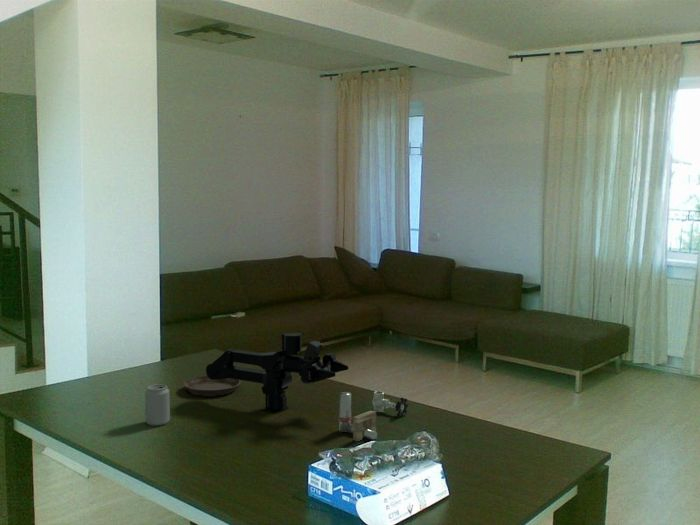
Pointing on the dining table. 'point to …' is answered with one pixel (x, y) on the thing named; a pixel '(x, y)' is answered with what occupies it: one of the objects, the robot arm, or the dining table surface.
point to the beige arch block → (358, 424)
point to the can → (157, 405)
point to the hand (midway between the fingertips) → (341, 371)
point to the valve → (388, 404)
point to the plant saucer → (211, 386)
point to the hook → (350, 417)
